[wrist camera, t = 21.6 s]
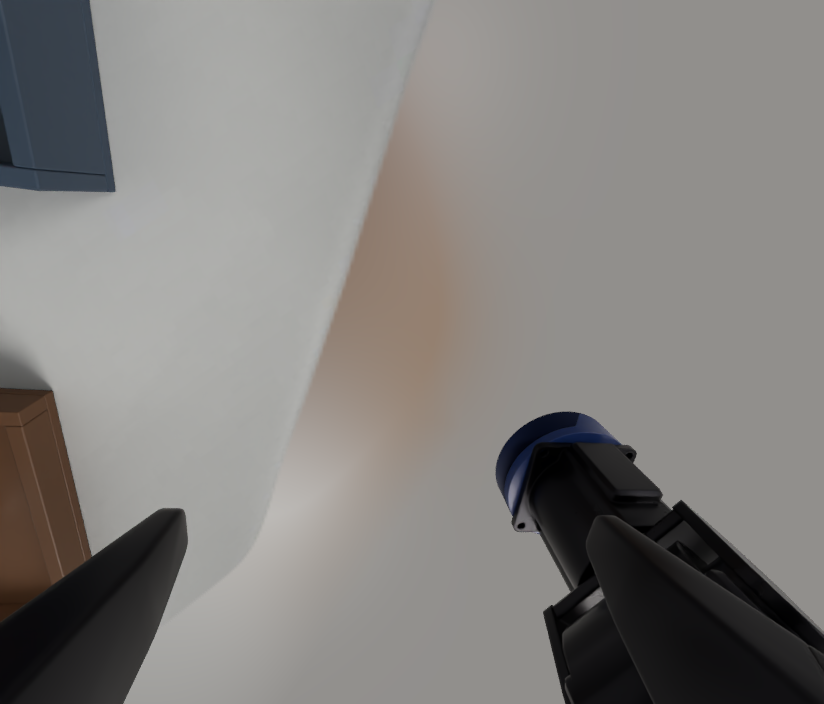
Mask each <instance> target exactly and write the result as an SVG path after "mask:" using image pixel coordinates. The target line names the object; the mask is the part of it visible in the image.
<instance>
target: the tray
mask: <svg viewBox="0 0 824 704" xmlns="http://www.w3.org/2000/svg"><path fill="white" fill-rule="evenodd" d="M90 558H91V553H90V549H89V545H88V540H87V536H86V532H85V527H84V523H83V519H82V515H81V510H80V506H79V502H78V498H77V493H76V489H75V485H74V481H73V476H72V472H71V468H70V464H69V459H68V455H67V451H66V447H65V442H64V438H63V434H62V430H61V425H60V421H59V417H58V413H57V408H56V404H55V400H54V396H53V392H52V391H46V390H26V389H6V388H0V622H1V621H2V620H4V619H5V618H7V617H8V616H9V615H11V614H12V613H14V612H15V611H16V610H18V609H19V608H21V607H22V606H23V605H25V604H26V603H28V602H29V601H30V600H32V599H33V598H35V597H36V596H38V595H39V594H40V593H42V592H43V591H45V590H46V589H47V588H49V587H50V586H52V585H53V584H54V583H56V582H57V581H59V580H60V579H62V578H63V577H64V576H66V575H67V574H69V573H70V572H71V571H73V570H74V569H76V568H77V567H78V566H80V565H81V564H83V563H84V562H85V561H87V560H88V559H90Z"/></svg>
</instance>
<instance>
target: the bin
mask: <svg viewBox="0 0 824 704" xmlns="http://www.w3.org/2000/svg"><path fill="white" fill-rule="evenodd" d="M0 186H5V187H13V188H21V189H29V190H37V191H84V192H115V184H114V177H113V169H112V162H111V155H110V148H109V141H108V133H107V126H106V119H105V112H104V104H103V97H102V90H101V83H100V76H99V68H98V61H97V54H96V47H95V39H94V32H93V25H92V18H91V11H90V3H89V0H0Z"/></svg>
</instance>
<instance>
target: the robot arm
mask: <svg viewBox="0 0 824 704" xmlns="http://www.w3.org/2000/svg"><path fill="white" fill-rule="evenodd" d="M542 450H544V451H543V452H541V451H542ZM540 452H541V453H540ZM636 454H637V453H636V451H635V450H634V449H633V448H632V447H631V446H629V445H614V444H609V443H583V442H575V443H557V442H540V443H538V444H536V445H535V446H534V448H533V450H532V454H531V457H530V460H529V464H528V467H527V471H526V474H525V477H524V481H523V484H522V488H521V491H520V494H519V498H518V501H517V505H516V508H515V511H514V515H513V518H512V525H513V527H514V529H515V531H517V532H539V534H540V536H541V537H542V539H543V541H544V543H545V544H546V547H547V549H548V550H549V552H550V554H551V556H552V558H553V560H554V562H555V563H556V565H557V567H558V569H559V571H560V573H561V575H562V577H563V578H564V580H565V582H566V584H567V586H568V588H569V590H570V591H571V592H570V593H569V594H568V595H567V596H565V597H564V598H563V599H562V600H560V601H559V602H558V603H557V604H555V605H554V606H553V605H551V606H550V607H548V608H547V609H546V610H545V611H544V612H543V614H544V619H545V623H546V627H547V631H548V635H549V639H550V643H551V648H552V652H553V656H554V660H555V664H556V668H557V673H558V677H559V680H560V685H561V689H562V693H563V697H564V700H565V704H824V632H823V631H822V630H821V629H820V628H819V627H818V626H817V625H816V624H815V623H814V622H813V621H812V620H811V619H810V618H809V617H808V616H807V615H806V614H805V613H804V612H803V611H802V610H801V609H800V608H799V607H798V606H797V605H796V604H795V603H794V602H793V601H792V600H791V599H790V598H789V597H788V596H787V595H786V594H785V593H784V592H783V591H782V590H780V588H779V587H778V586H777V585H775V584H774V583H773V582H772V581H771V580H770V579H769V578H768V577H767V576H766V575H765V574H763V572H761V571H760V570H759V569H758V568H757V567H756V566H755V565H754V564H753V563H752V562H751V561H749V560H748V559H747V558H746V557H745V556H744V555H743V554H742V553H741V552H740V551H739V550H738V549H736V548H735V547H734V546H733V545H732V544H731V543H730V542H729V541H728V540H727V539H725V538H724V537H723V536H722V535H721V534H720V533H719V532H718V531H716V530H715V529H714V528H713V527H712V526H711V525H709V524H708V523H707V522H706V521H705V520H704V519H703V518H701V517H700V516H699V515H698V514H697V513H696V512H695V511H693V510H692V509H691V508H690V507H689V506H687V504H685V503H684V502H683V501H682V500H680V501H679V502H678V503H677V504H675V505H674V506H673V507H672V508H673V510H671V509H670V508H669V507H668V506H667V505H666V504H665V503H664V502H663V501H662V500H661V498H662V496H663V494H662V492H661V491H660V489H659V488H658V487H657V486H656V485H655V484H654V483H653V482H652V481H650V479H649V478H648V477H646V476H645V475H644V474H643V473H642V472H641V471H640V470H639V469H638V468H637V467H636V466H635V465H634V464H633V462H634V459H635V458H636ZM187 544H188V536H187V526H186V516H185V512H184V510H183V509H180V508H163V509H160V510H158V511H156V512H155V513H153V514H152V515H150V516H149V517H147V518H146V519H145V520H143V521H142V522H140V523H139V524H138V525H136V526H135V527H133V528H132V529H131V530H129V531H128V532H126V533H125V534H124V535H122V536H121V537H119V538H118V539H116V540H115V541H114V542H112V543H111V544H109V545H108V546H107V547H105V548H104V549H102V550H101V551H100V552H98V553H97V554H95V555H94V556H93V557H91V558H90V559H88V560H87V561H85V562H84V563H83V564H81V565H80V566H78V567H77V568H76V569H74V570H73V571H71V572H70V573H69V574H67V575H66V576H64V577H63V578H62V579H60V580H59V581H57V582H56V583H54V584H53V585H52V586H50V587H49V588H47V589H46V590H45V591H43V592H42V593H40V594H39V595H38V596H36V597H35V598H33V599H32V600H30V601H29V602H28V603H26V604H25V605H23V606H22V607H21V608H19V609H18V610H16V611H15V612H14V613H12V614H11V615H9V616H8V617H7V618H5V619H4V620H2V621H1V622H0V704H123V703H124V701H125V699H126V696H127V694H128V692H129V690H130V688H131V686H132V684H133V682H134V680H135V678H136V675H137V673H138V671H139V669H140V667H141V665H142V663H143V660H144V659H145V656H146V654H147V652H148V650H149V648H150V646H151V643H152V641H153V639H154V637H155V634H156V632H157V629H158V626H159V624H160V621H161V619H162V616H163V613H164V610H165V608H166V605H167V602H168V599H169V597H170V594H171V591H172V588H173V586H174V583H175V580H176V577H177V575H178V572H179V569H180V566H181V564H182V561H183V558H184V555H185V553H186V549H187Z"/></svg>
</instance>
